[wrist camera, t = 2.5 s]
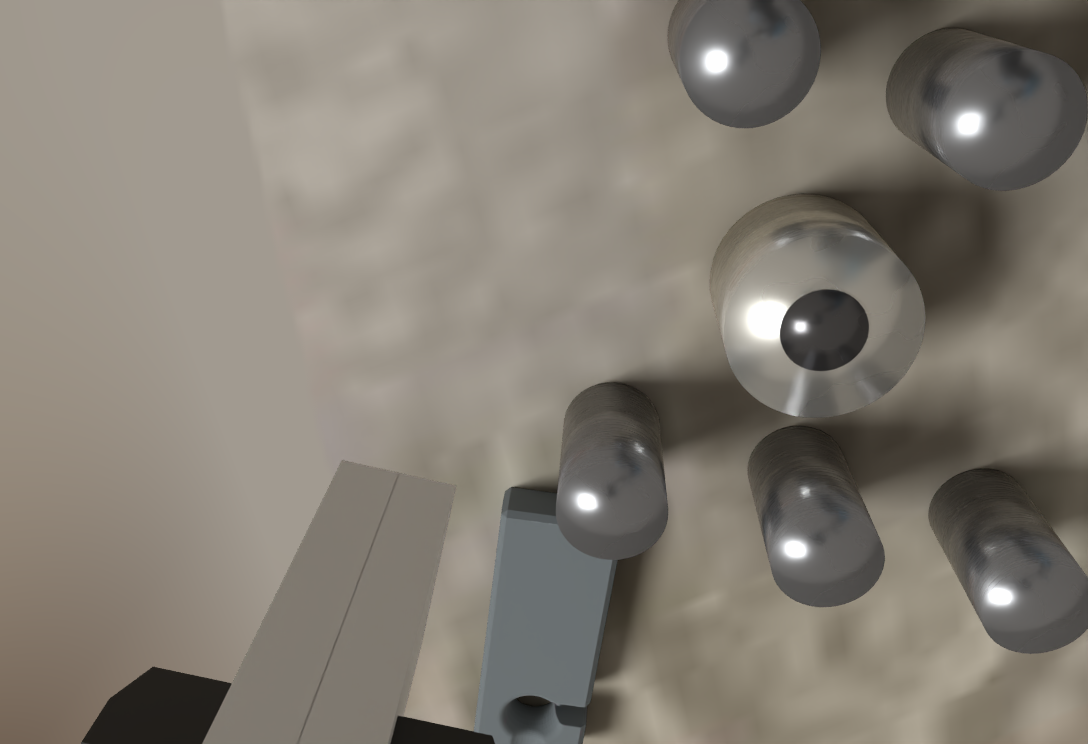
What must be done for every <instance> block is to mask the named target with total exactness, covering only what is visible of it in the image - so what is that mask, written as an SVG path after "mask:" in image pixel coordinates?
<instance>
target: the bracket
mask: <svg viewBox="0 0 1088 744" xmlns="http://www.w3.org/2000/svg"><path fill="white" fill-rule="evenodd" d="M556 502H557V493H550V492H543V491H536V490H529V489H522V488H514V487H511V488H509V489H508V490H506V491H505V494H504V499H503V506H502V513H501V520H500V528H499V536H498V544H497V552H496V560H495V568H494V576H493V584H492V592H491V600H490V608H489V615H488V623H487V631H486V639H485V647H484V655H483V663H482V671H481V679H480V687H479V695H478V703H477V711H476V718H475V726H474V732H478V733H483V734H487V735H492V736H493V739H494V742H495V744H583V738H584V733H585V728H586V716H587V705H588V704H589V703H590V702H591V697H592V691H593V686H594V681H595V676H596V670H597V665H598V660H599V655H600V649H601V644H602V639H603V634H604V628H605V623H606V618H607V613H608V607H609V602H610V597H611V592H612V586H613V581H614V576H615V571H616V565H617V560H606V559H599V558H595V557H592V556H589V555H587V554H584V553H583V552H581V551H579V550H578V549H576V548H575V547H573V546H572V545H571V544H570V543H569V542H568V541H567V540H566V539H565V537H564V536H563V534H562V533H561V531H560V529H559V526H558V523H557V519H556ZM528 695H531V696H539V697H542V698H544V699H546V700H548V701H550V703H548V704H546V705H543V706H538V707H533V706H528V705H525V704H522V703H521V702H519V701H518V700H516V698H518V697H521V696H528Z"/></svg>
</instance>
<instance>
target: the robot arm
mask: <svg viewBox="0 0 1088 744" xmlns="http://www.w3.org/2000/svg"><path fill="white" fill-rule="evenodd" d="M455 489H456V485H451V484H447V483H442V482H438V481H433V480H429V479H424V478H420V477H416V476H411V475H407V474H402V473H398V472H393V471H389V470H384V469H380V468H375V467H371V466H366V465H362V464H357V463H353V462H348V461H344V460H342V461H341V463H340V465H339V467H338V469H337V471H336V473H335V476H334V478H333V480H332V482H331V484H330V486H329V488H328V490H327V492H326V494H325V496H324V498H323V500H322V502H321V504H320V506H319V508H318V510H317V512H316V514H315V516H314V518H313V520H312V522H311V524H310V526H309V528H308V530H307V532H306V534H305V536H304V539H303V540H302V543H301V544H300V546H299V549H298V551H297V553H296V555H295V557H294V559H293V561H292V563H291V565H290V567H289V569H288V571H287V573H286V575H285V577H284V579H283V581H282V583H281V585H280V587H279V589H278V591H277V593H276V595H275V597H274V599H273V602H272V603H271V605H270V607H269V610H268V611H267V613H266V615H265V617H264V619H263V622H262V624H261V626H260V628H259V630H258V632H257V634H256V636H255V638H254V640H253V642H252V644H251V646H250V648H249V650H248V652H247V654H246V656H245V658H244V660H243V662H242V664H241V666H240V668H239V670H238V672H237V674H236V676H235V678H234V680H233V682H232V683H227V682H223V681H218V680H213V679H209V678H204V677H199V676H194V675H190V674H185V673H180V672H176V671H171V670H166V669H161V668H157V667H152V668H151V669H150V670H148V671H147V672H145V673H144V674H143V675H141V676H140V677H139V678H137V679H136V680H134V681H133V682H132V683H130V684H129V685H128V686H126V687H125V688H124V689H122V690H121V691H119V692H118V693H117V694H115V695H114V696H113V697H111V698H110V699H109V700H108V702H107V703H106V705H105V707H104V708H103V710H102V711H101V713H100V714H99V716H98V717H97V719H96V720H95V722H94V724H93V725H92V727H91V728H90V730H89V731H88V733H87V734H86V736H85V738H84V739H83V741H82V742H81V744H495V742H494V739H493V736H492V735H487V734H483V733H478V732H473V731H468V730H464V729H459V728H454V727H450V726H445V725H440V724H435V723H431V722H426V721H421V720H417V719H412V718H407V717H403V716H404V712H405V708H406V704H407V700H408V696H409V692H410V688H411V684H412V680H413V676H414V672H415V668H416V665H417V661H418V657H419V653H420V649H421V644H422V640H423V635H424V631H425V626H426V622H427V617H428V612H429V608H430V603H431V599H432V594H433V590H434V585H435V580H436V576H437V571H438V567H439V562H440V557H441V553H442V548H443V544H444V539H445V535H446V530H447V525H448V521H449V516H450V512H451V507H452V503H453V498H454V493H455Z"/></svg>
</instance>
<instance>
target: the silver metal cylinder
mask: <svg viewBox="0 0 1088 744" xmlns="http://www.w3.org/2000/svg"><path fill="white" fill-rule="evenodd" d="M710 293H711V299H712V303H713V307H714V311H715V314H716V318H717V322H718V326H719V329H720V333H721V337H722V340H723V344H724V348H725V352H726V355H727V358H728V361H729V364H730V367H731V369H732V371H733V373H734V375H735V376H736V378H737V379H738V381H739V382H740V383H741V385H742V386H743V387H744V388H745V389H746V390H747V391H748V392H749V393H750V394H751V395H752V396H753V397H755V398H756V399H757V400H758V401H760V402H761V403H763V404H765V405H766V406H768V407H770V408H772V409H775V410H777V411H779V412H782V413H786V414H789V415H793V416H799V417H808V418H822V417H832V416H838V415H843V414H846V413H849V412H853V411H855V410H858V409H860V408H862V407H865V406H867V405H869V404H870V403H872V402H874V401H876V400H877V399H879V398H880V397H882V396H883V395H884V394H886V393H887V392H888V391H890V390H891V389H892V388H893V387H894V386H895V385H896V384H897V383H898V382H899V381H900V380H901V379H902V377H903V376H904V375H905V374H906V372H907V371H908V370H909V368H910V367H911V365H912V364H913V362H914V360H915V358H916V356H917V354H918V352H919V349H920V346H921V343H922V340H923V335H924V330H925V306H924V301H923V297H922V293H921V291H920V288H919V286H918V283H917V281H916V280H915V278H914V276H913V275H912V273H911V271H910V270H909V269H908V268H907V267H906V265H905V264H904V263H903V262H902V261H901V260H900V258H899V257H898V256H897V255H896V254H895V253H894V251H893V250H892V249H891V248H890V247H889V246H888V245H887V243H886V242H885V241H884V240H883V239H882V238H881V236H880V235H879V234H878V233H877V232H876V231H875V229H874V228H873V227H872V226H871V225H870V224H869V223H868V221H867V220H866V219H865V218H864V217H863V216H862V215H861V214H860V213H858V212H857V211H856V210H855V209H853V208H851V207H850V206H848V205H847V204H845V203H843V202H840V201H838V200H836V199H833V198H829V197H826V196H821V195H815V194H797V195H788V196H784V197H779V198H776V199H773V200H770V201H767V202H765V203H763V204H761V205H759V206H757V207H756V208H754V209H752V210H751V211H749V212H748V213H746V214H745V215H744V216H743V217H742V218H740V219H739V220H738V221H737V222H736V223H735V224H734V225H733V226H732V227H731V228H730V230H729V231H728V232H727V234H726V235H725V236H724V238H723V239H722V241H721V243H720V245H719V247H718V248H717V251H716V253H715V256H714V259H713V262H712V267H711V272H710Z"/></svg>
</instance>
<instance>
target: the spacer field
mask: <svg viewBox="0 0 1088 744" xmlns="http://www.w3.org/2000/svg"><path fill="white" fill-rule="evenodd" d="M668 47H669V52H670V55H671V58H672V61H673V63H674V65H675V67H676V69H677V72H678V74H679V76H680V78H681V80H682V83H683V85H684V87H685V89H686V91H687V93H688V95H689V97H690V98H691V100H692V102H693V103H694V104H695V105H696V107H697V108H698V109H699V110H700V111H701V112H703V113H704V114H705V115H706V116H708V117H709V118H711V119H712V120H714V121H716V122H718V123H720V124H723V125H726V126H730V127H736V128H754V127H759V126H764V125H767V124H770V123H772V122H775V121H776V120H778V119H780V118H782V117H784V116H785V115H787V114H788V113H790V112H791V111H792V110H793V109H794V108H795V107H796V106H797V105H798V104H799V103H800V102H801V101H802V100H803V99H804V97H805V96H806V94H807V93H808V92H809V90H810V88H811V86H812V84H813V82H814V80H815V77H816V75H817V71H818V68H819V63H820V56H821V45H820V36H819V33H818V29H817V26H816V23H815V21H814V19H813V17H812V15H811V13H810V12H809V10H808V9H807V8H806V6H805V5H804V4H803V3H802V2H801V1H800V0H679V1H678V3H677V4H676V6H675V8H674V10H673V12H672V15H671V18H670V21H669V26H668ZM886 104H887V108H888V112H889V115H890V117H891V119H892V121H893V123H894V124H895V126H896V127H897V128H898V129H899V130H900V131H901V132H902V133H903V134H904V135H905V136H907V137H908V138H910V139H911V140H912V141H914V142H915V143H917V144H918V145H919V146H921V147H922V148H923V149H925V150H926V151H928V152H929V153H930V154H932V155H933V156H935V157H936V158H937V159H939V160H940V161H942V162H943V163H944V164H946V165H947V166H949V167H950V168H951V169H953V170H954V171H956V172H957V173H958V174H960V175H961V176H963V177H964V178H965V179H967V180H968V181H970V182H971V183H973V184H975V185H977V186H980V187H983V188H986V189H991V190H1000V191H1007V190H1016V189H1021V188H1024V187H1027V186H1030V185H1033V184H1035V183H1037V182H1040V181H1041V180H1043V179H1045V178H1047V177H1048V176H1050V175H1051V174H1052V173H1054V172H1055V171H1056V170H1058V169H1059V168H1060V167H1061V166H1062V165H1063V164H1064V163H1065V162H1066V161H1067V159H1068V158H1069V157H1070V156H1071V155H1072V153H1073V152H1074V150H1075V149H1076V147H1077V145H1078V143H1079V141H1080V140H1081V137H1082V135H1083V132H1084V129H1085V125H1086V121H1087V114H1088V102H1087V96H1086V92H1085V89H1084V85H1083V83H1082V81H1081V79H1080V78H1079V76H1078V75H1077V73H1076V72H1075V71H1074V70H1073V69H1072V68H1071V67H1070V66H1069V65H1068V64H1067V63H1065V62H1064V61H1063V60H1061V59H1059V58H1057V57H1055V56H1053V55H1050V54H1047V53H1044V52H1040V51H1037V50H1033V49H1030V48H1027V47H1023V46H1020V45H1017V44H1013V43H1010V42H1007V41H1003V40H1000V39H996V38H993V37H990V36H986V35H983V34H980V33H976V32H973V31H969V30H966V29H960V28H949V29H942V30H937V31H934V32H931V33H929V34H927V35H925V36H923V37H921V38H919V39H918V40H916V41H915V42H913V43H912V44H911V45H910V46H909V47H908V48H907V49H906V50H905V51H904V52H903V53H902V54H901V55H900V57H899V58H898V59H897V61H896V63H895V64H894V66H893V68H892V70H891V73H890V75H889V79H888V82H887V88H886ZM748 478H749V482H750V486H751V490H752V494H753V498H754V502H755V506H756V510H757V514H758V518H759V522H760V526H761V530H762V534H763V538H764V542H765V546H766V550H767V554H768V558H769V562H770V566H771V570H772V574H773V577H774V580H775V582H776V583H777V585H778V586H779V588H780V589H781V590H782V591H783V592H784V593H785V594H786V595H787V596H789V597H790V598H792V599H793V600H795V601H797V602H800V603H802V604H805V605H809V606H815V607H832V606H838V605H842V604H846V603H849V602H851V601H853V600H855V599H857V598H859V597H861V596H862V595H864V594H865V593H866V592H867V591H869V590H870V589H871V588H872V587H873V586H874V584H875V583H876V582H877V580H878V579H879V577H880V575H881V573H882V570H883V567H884V561H885V555H884V549H883V545H882V543H881V540H880V538H879V536H878V534H877V531H876V529H875V527H874V524H873V522H872V520H871V518H870V515H869V513H868V511H867V508H866V506H865V504H864V502H863V499H862V497H861V495H860V493H859V490H858V488H857V486H856V483H855V481H854V479H853V477H852V474H851V472H850V470H849V467H848V465H847V463H846V461H845V458H844V456H843V454H842V452H841V449H840V447H839V446H838V444H837V443H836V442H835V441H834V440H833V439H832V438H831V437H830V436H829V435H827V434H826V433H824V432H822V431H820V430H817V429H814V428H810V427H802V426H797V427H788V428H784V429H781V430H778V431H776V432H773V433H772V434H770V435H768V436H767V437H766V438H764V439H763V440H762V441H761V442H760V443H759V444H758V445H757V446H756V447H755V449H754V451H753V452H752V454H751V456H750V459H749V462H748ZM928 516H929V522H930V526H931V528H932V530H933V532H934V534H935V536H936V538H937V539H938V541H939V543H940V545H941V547H942V549H943V551H944V553H945V555H946V556H947V558H948V560H949V562H950V564H951V566H952V568H953V570H954V571H955V573H956V575H957V577H958V579H959V581H960V583H961V585H962V586H963V588H964V590H965V592H966V594H967V596H968V598H969V600H970V601H971V603H972V605H973V607H974V609H975V611H976V613H977V615H978V617H979V618H980V620H981V622H982V624H983V626H984V628H985V630H986V632H987V633H988V635H989V636H990V637H991V638H992V639H993V640H994V641H995V642H996V643H997V644H999V645H1000V646H1002V647H1004V648H1006V649H1009V650H1011V651H1015V652H1020V653H1030V654H1032V653H1043V652H1048V651H1053V650H1056V649H1059V648H1061V647H1063V646H1066V645H1068V644H1069V643H1071V642H1073V641H1074V640H1076V639H1077V638H1078V637H1080V636H1081V635H1082V634H1083V633H1084V632H1085V631H1086V630H1087V629H1088V577H1087V576H1086V574H1085V573H1084V572H1083V570H1082V569H1081V568H1080V566H1079V565H1078V563H1077V562H1076V561H1075V559H1074V558H1073V557H1072V555H1071V554H1070V552H1069V551H1068V550H1067V548H1066V547H1065V546H1064V544H1063V543H1062V542H1061V540H1060V539H1059V537H1058V536H1057V535H1056V533H1055V532H1054V531H1053V529H1052V528H1051V527H1050V525H1049V524H1048V522H1047V521H1046V520H1045V518H1044V517H1043V516H1042V514H1041V513H1040V511H1039V510H1038V509H1037V507H1036V506H1035V505H1034V503H1033V502H1032V501H1031V499H1030V498H1029V496H1028V495H1027V494H1026V492H1025V491H1024V490H1023V488H1022V487H1021V485H1020V484H1019V483H1018V482H1017V481H1016V480H1015V479H1014V478H1012V477H1011V476H1009V475H1008V474H1005V473H1003V472H1000V471H997V470H991V469H977V470H971V471H968V472H964V473H962V474H959V475H957V476H955V477H953V478H952V479H950V480H949V481H947V482H946V483H945V484H944V485H942V486H941V487H940V489H939V490H938V491H937V492H936V494H935V495H934V497H933V499H932V501H931V503H930V507H929V515H928ZM556 519H557V523H558V526H559V529H560V531H561V533H562V534H563V536H564V537H565V539H566V540H567V541H568V542H569V543H570V544H571V545H572V546H573V547H575V548H576V549H578V550H579V551H581V552H583V553H584V554H587V555H589V556H592V557H595V558H599V559H606V560H620V559H626V558H630V557H633V556H636V555H638V554H641V553H642V552H644V551H646V550H647V549H649V548H650V547H651V546H653V545H654V544H655V543H656V542H657V540H658V539H659V538H660V537H661V535H662V533H663V532H664V529H665V527H666V524H667V520H668V504H667V494H666V484H665V474H664V464H663V454H662V444H661V434H660V424H659V417H658V414H657V411H656V409H655V407H654V405H653V403H652V402H651V401H650V400H649V399H648V398H647V396H646V395H644V394H643V393H642V392H640V391H639V390H637V389H635V388H633V387H631V386H628V385H624V384H619V383H604V384H599V385H595V386H592V387H590V388H588V389H586V390H584V391H583V392H581V393H580V394H579V395H578V396H576V397H575V399H574V400H573V401H572V402H571V404H570V405H569V407H568V409H567V411H566V414H565V418H564V426H563V437H562V448H561V459H560V469H559V480H558V491H557V502H556Z"/></svg>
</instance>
